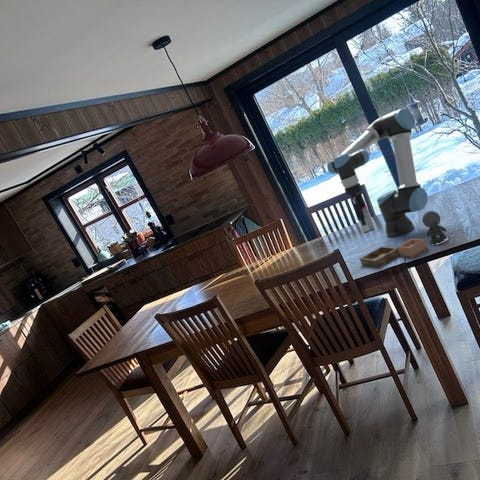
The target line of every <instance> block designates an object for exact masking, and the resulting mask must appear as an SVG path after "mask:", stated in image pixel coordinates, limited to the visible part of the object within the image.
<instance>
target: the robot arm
mask: <svg viewBox="0 0 480 480" xmlns="http://www.w3.org/2000/svg"><path fill="white" fill-rule="evenodd" d="M415 126H416V120H415V115H413V113H412V112H411V111H410V110H409V109H408V108H401V109H396V110H394V111H391V112H390V113H387V114H384V115H381V116H380V117H378V118H377V119H375V120H374V121H373V122H371V124H369V125H368V126H367V127H366V128H365V129H364V130H363V133H362V134H361V135H360V136H359V137H358V138H357V139H356V140H355V141H353V143H351V144H350V145H349V146H348V147H347V148H346V149H344V151H342V152H341V153H340V154H339V155H337V156H335V157H333V159H330V160H328V162H327V165H326V167H327V171H328V172H329V174H331V175H336V174H338V176H339V178H340V180H341V181H340V184H342V185H343V188H344V191H345V192H344V193H345V195H346V196H351V201H350V202H351V204H352V206H353V209H354V211H355V215H356V218H357V221H359V220H360V222H361V224H362V227H363V229H364V232H366V231H369V230H370V228H369V226H368V223H367V220H366V218H365V217H364V214H363V211H362V207H365V206H367V204H366V202H365V199H364V197H363V194H362V192H361V191H362V189H363V188H362V186H361V184H360V182H359V178H358V176H357V173H356V169H358V168H360V167H362V166H364V165H366V164H367V163H368V162H369V160H370V154H369V152H368V151H367V149H369V148H370V147H371V146H372V145H375V144H377V143H378V142H379V141H380V140H384V139H387V138H388V139H389V140H390V141H392V146H393V154H394V159H395V165H396V171H397V177H398V178H397V179H398V182H399V186H398V187H397V189H393V190H389V191H388V192H385V193H384V194H382V195H380V196H378V198H377V199H376V202H377V206H378V208H379V210H380V213H381V215H382V217H383V221H384V224H385V234H386V236H387V237H388V238H394V237H399V236H402V235H405V234H407V233H408V232H411V231H412V230H414V227H415V226H414V224H413V222H412V220H411V219H410V218H409V217H408V216H407V214H409V213H415V212H419V211H422V210H424V208H425V207H426V206H427V203H428V193H427V191H426V190H425V189H424V188H423V187H421V183H418V181H417V175H416V170H415V164H414V163H415V162H414V155H413V152H412V145H411V144H412V143H411V140H410V137H411V136H412V133H413V131H412V129H414V128H415ZM360 222H359V223H360ZM362 227H361V228H362Z"/></svg>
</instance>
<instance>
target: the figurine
mask: <svg viewBox="0 0 480 480" xmlns="http://www.w3.org/2000/svg"><path fill="white" fill-rule="evenodd" d="M440 223H441V216H440V214H439V213H438V212H436V211H434V210H430V211H426V212H425V213H424V214H423V215H422V224H423V225H424V226H425V227H427V228H429V229H428V230H427V232H426V236H427V238H429V237H430V238H431V240H429V244H430V243H431V244H436V243H440V242H442V241H444V239H446V238H447V237H446V235H447V234H446V235H445V234H444V232H445V233H446V232H447V230H446V228H445V227H444V226H441V225H440Z"/></svg>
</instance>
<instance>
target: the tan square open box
mask: <svg viewBox="0 0 480 480" xmlns="http://www.w3.org/2000/svg"><path fill="white" fill-rule="evenodd" d="M410 245H412V246H411V247H409V246H410ZM396 248H398V251H399V253H400V255H399V257H404V258H405V257H406V258H412V259H413V258H415V257H416V256H418V255H420V254H422V253H423V252H425V251H427V250H428V245H427V243H426V241H425V239H421V238H410V239H408V240H407V241H405V242H403V243H400V244H399V245H398V246H396Z"/></svg>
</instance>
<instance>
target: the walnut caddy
mask: <svg viewBox="0 0 480 480" xmlns="http://www.w3.org/2000/svg"><path fill="white" fill-rule="evenodd" d="M397 257H400V253H399V251H398V248H397V247H391V246H383V245H381V246H379V247H377V248H376V249H374V250H373V251H370V252H369V253H367V254H365V255H363V256H361V257H360V258H359V261H360V263H361V265H362V266H368V267H373V268H380V267H382V266H384V265H385V264H387V263H388V262H390V261H392V260H394V259H396V258H397Z"/></svg>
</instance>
